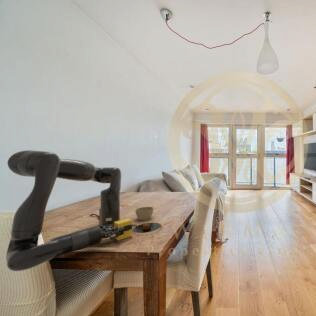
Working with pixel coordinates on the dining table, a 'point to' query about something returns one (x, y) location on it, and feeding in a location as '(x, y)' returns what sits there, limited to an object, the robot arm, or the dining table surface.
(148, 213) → the beige bowl
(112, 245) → the dining table surface
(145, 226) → the brown small block
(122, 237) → the sponge
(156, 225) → the pan
